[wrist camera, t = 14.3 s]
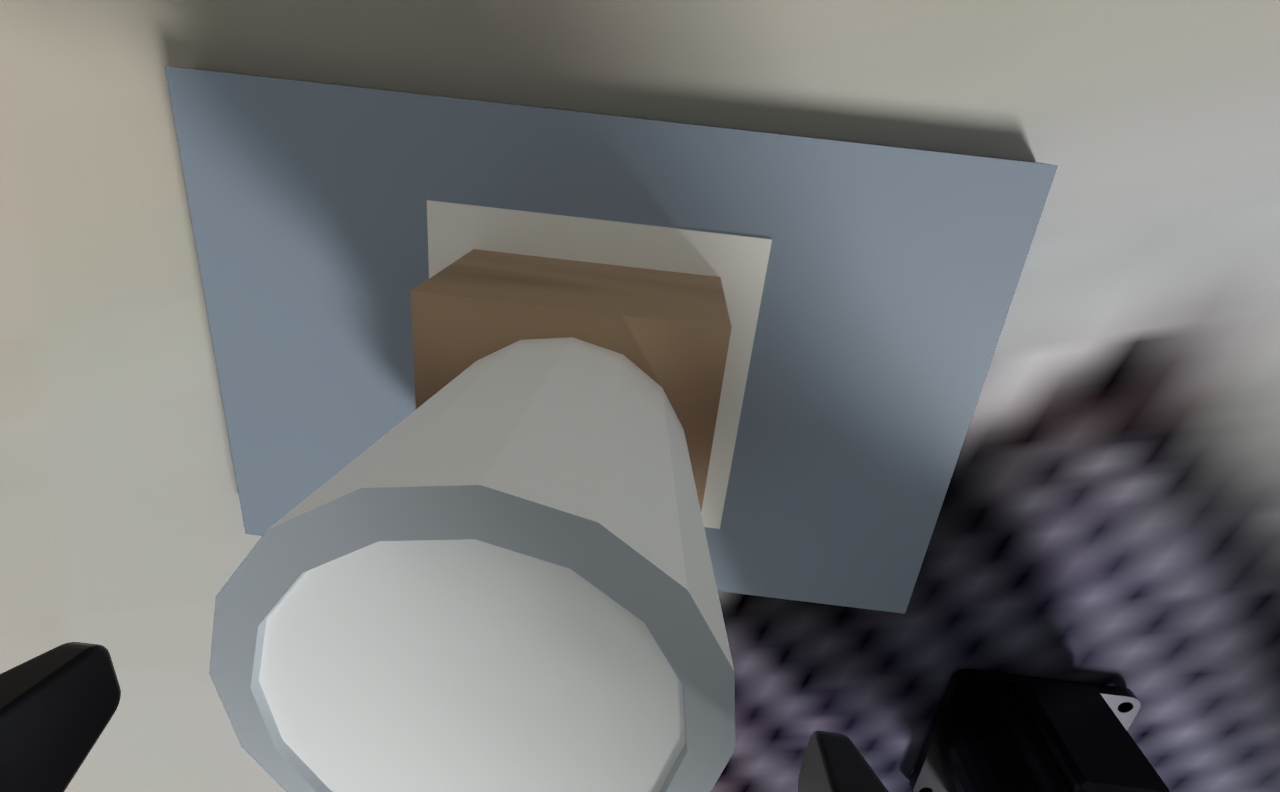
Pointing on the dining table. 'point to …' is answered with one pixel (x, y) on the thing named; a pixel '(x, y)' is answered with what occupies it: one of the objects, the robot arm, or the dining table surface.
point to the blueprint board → (625, 236)
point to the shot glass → (491, 599)
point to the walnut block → (580, 326)
